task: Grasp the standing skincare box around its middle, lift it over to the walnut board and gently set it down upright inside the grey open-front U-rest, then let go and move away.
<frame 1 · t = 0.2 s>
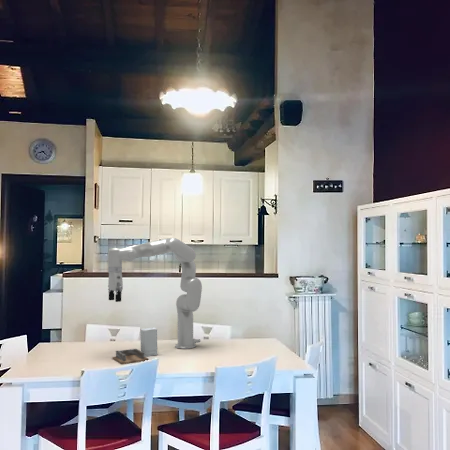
hand: (114, 300, 254), 31 cm above the table, tool pointing down, fingers open, 9 cm apart
skincare box: (148, 355, 255), on the table
u rest: (130, 359, 245), on the table
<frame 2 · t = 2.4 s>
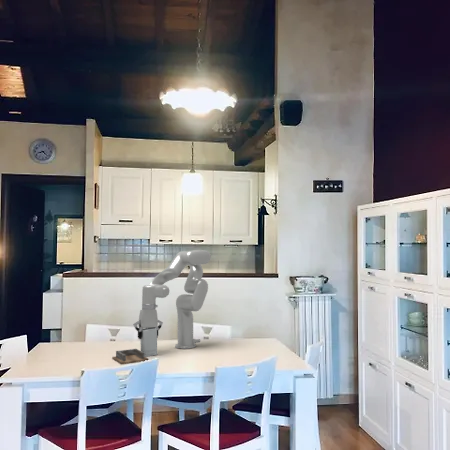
hand: (148, 338, 255), 10 cm above the table, tool pointing down, fingers open, 9 cm apart
skincare box: (148, 355, 255), on the table, touching gripper
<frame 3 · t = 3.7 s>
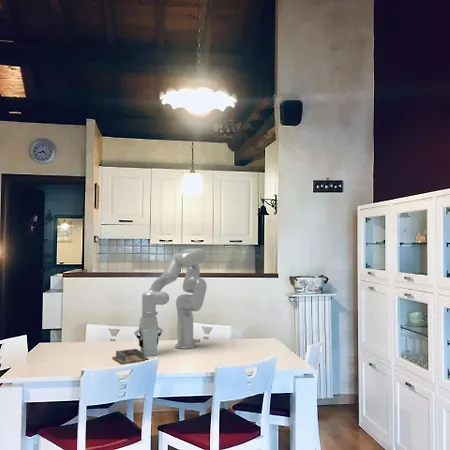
hand: (148, 345, 255), 5 cm above the table, tool pointing down, fingers closed on skincare box, 8 cm apart
skincare box: (148, 355, 255), on the table, touching gripper
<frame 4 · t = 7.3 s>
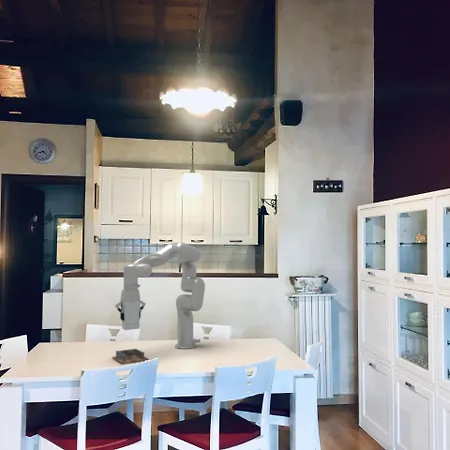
hand: (130, 319, 246), 21 cm above the table, tool pointing down, fingers closed on skincare box, 8 cm apart
skincare box: (130, 329, 246), point 16 cm above the table, touching gripper
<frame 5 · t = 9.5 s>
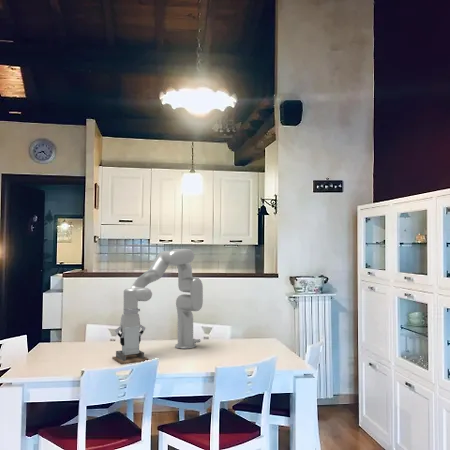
hand: (130, 344, 245), 8 cm above the table, tool pointing down, fingers closed on skincare box, 8 cm apart
skincare box: (130, 354, 245), point 3 cm above the table, touching gripper
when the fingers open (7 cm above the table, at t = 10.8 s): skincare box drops 1 cm, resting on u rest.
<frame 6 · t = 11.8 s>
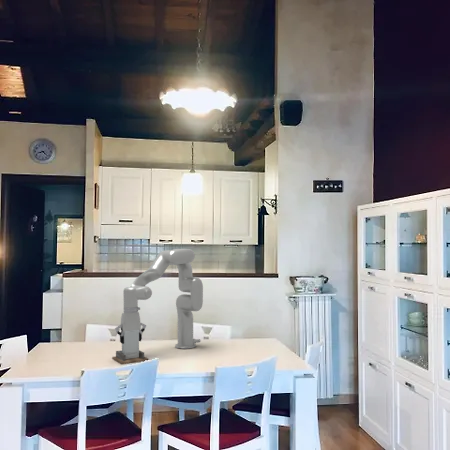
hand: (131, 342, 246), 9 cm above the table, tool pointing down, fingers open, 9 cm apart
skincare box: (130, 358, 245), point 1 cm above the table, touching u rest
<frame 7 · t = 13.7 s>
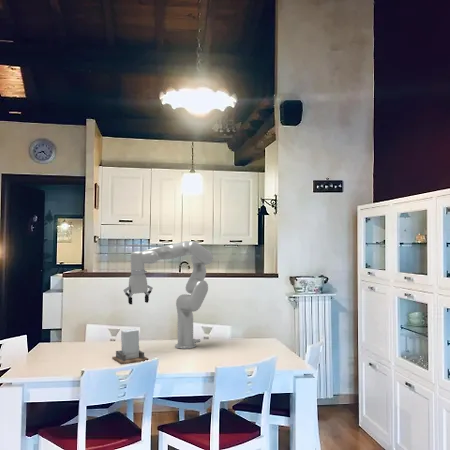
hand: (138, 303, 258), 29 cm above the table, tool pointing down, fingers open, 9 cm apart
nothing on the table moved.
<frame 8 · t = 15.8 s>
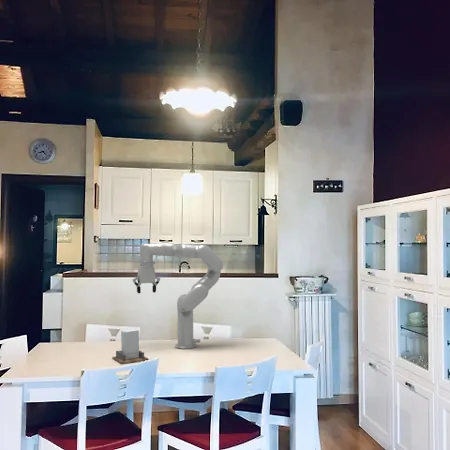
hand: (146, 292, 273), 33 cm above the table, tool pointing down, fingers open, 9 cm apart
nothing on the table moved.
at the end: skincare box 0.1 cm off-centre on the u rest, point 0.8 cm above the u rest's base; skincare box tilted 0°; the gripper is holding nothing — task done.
